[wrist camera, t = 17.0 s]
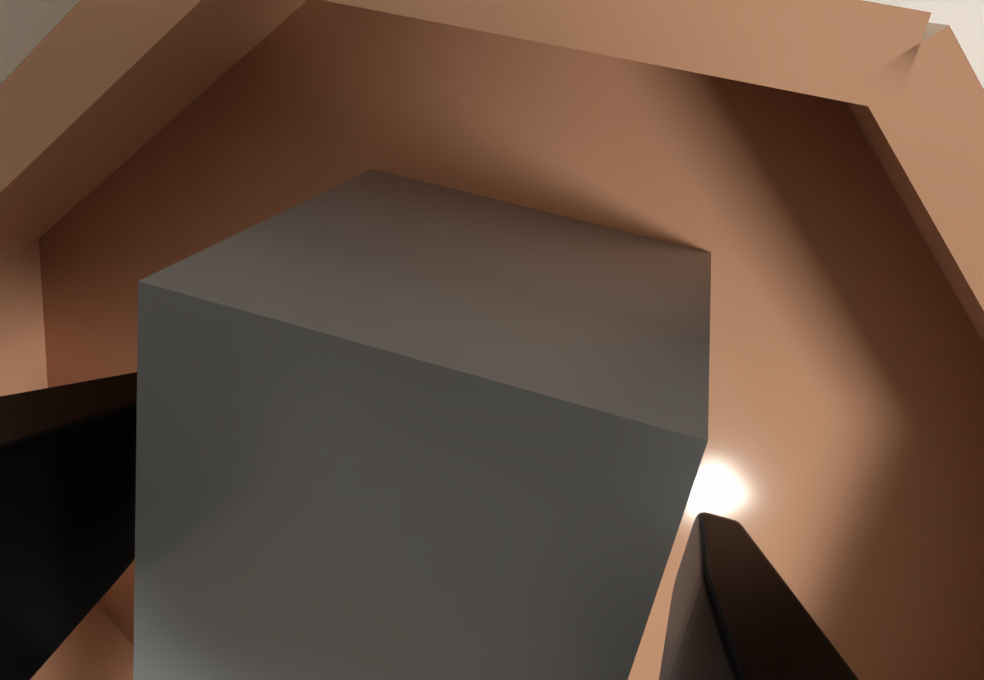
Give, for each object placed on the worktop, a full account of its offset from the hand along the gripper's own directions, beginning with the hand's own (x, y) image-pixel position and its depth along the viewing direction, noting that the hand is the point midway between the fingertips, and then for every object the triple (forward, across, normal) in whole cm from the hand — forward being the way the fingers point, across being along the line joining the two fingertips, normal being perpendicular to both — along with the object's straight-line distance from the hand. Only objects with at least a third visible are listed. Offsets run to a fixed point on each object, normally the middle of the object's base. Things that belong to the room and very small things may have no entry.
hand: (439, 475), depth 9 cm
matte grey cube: (+3, 0, 0) cm, 3 cm away
